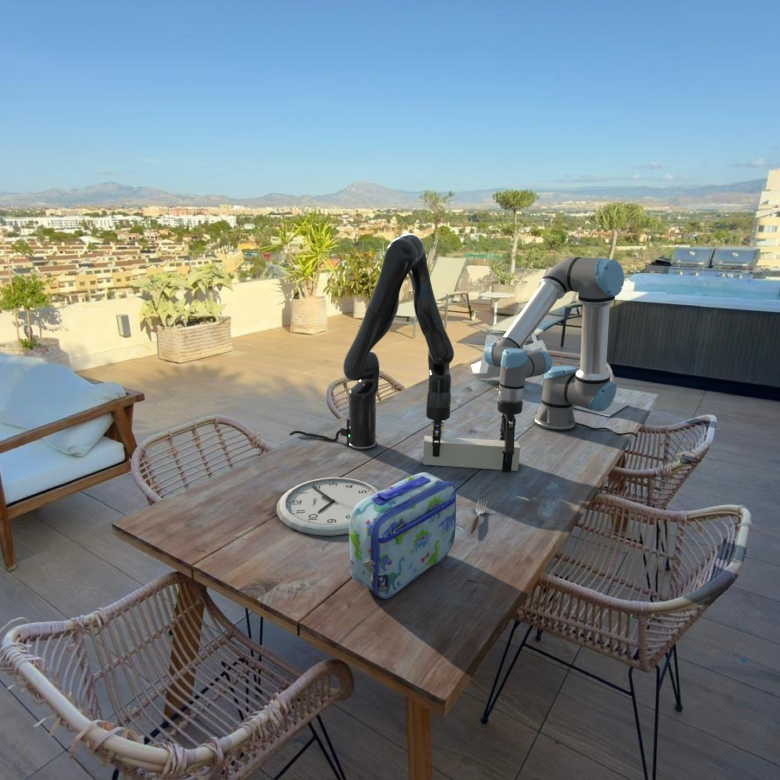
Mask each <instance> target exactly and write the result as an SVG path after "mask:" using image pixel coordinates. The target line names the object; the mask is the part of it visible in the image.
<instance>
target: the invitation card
mask: <svg viewBox="0 0 780 780" xmlns="http://www.w3.org/2000/svg"><path fill="white" fill-rule="evenodd" d="M628 406H629V404H627V403H623V402H618V401H614V400H613V401H612V403H611V404H610V406H609V407H608V408H607V409H605V410H604V411H601V412H598V411H594V410H589V409H587V408H584V407H580V406H577V405H575V406H574V407H573V409H575V410H581V411H584V412H587V413H593V414H596V415H600V416H604V417H608V418H609V417H611V416H613V415H614V414H616V413H617V412H619V411H621V410H623V409H624V408H626V407H628Z"/></svg>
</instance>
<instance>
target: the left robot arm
mask: <svg viewBox="0 0 780 780" xmlns="http://www.w3.org/2000/svg"><path fill="white" fill-rule="evenodd" d="M379 273H380V274H379V276H378V279H377V282H376V284H375V286H374V288H373V291H372V294H371V295H370V299H369V301H368V304H367V306H366V308H365V312H364V314H363V316H362V317H363V318H362V319H361V322H360V325H359V328H358V330H357V333H356V335H355V337H354V340H353V341H352V343H351V345H350V347H349V349H348V352H347V353H346V355H345V357H344V360H343V366H342V369H343V373H344V376H345V378H346V379H347V380H349V381H353V382H356V383H355V384H354V385H353V386H352V387H351V388H350V389H349V390H348V418H346V425H343V426H341V427H340V429H339V430H337V431H336V433H335V438H330V437H328V436H325V435H323V434H316V433H311V432H305V431H301V430H293V431H291V432H290V433H289V434H288V436H293V435H295V434H299V435H302V436H308V437H314V438H319V439H323V440H325V441H328V442H336V441H338V440H339V436H342V437H345V438H346V445H347V446H349V447H350V448H351V449H355V450H359V451H362V450H370V449H373V448H375V447H376V445H377V441H376V439H377V394H378V391H379V383H380V382H379V381H380V361H379V357H378V355H377V354H376V353H375V351H372V350H373V348H374V347H375V346H376V345H377V344H378V343H379V342H380V341H381V340H382V339H383V338H384V337H385V336H386V335H387V334H388V333H389V331H390V329H391V328H392V326H393V324H394V321H395V319H396V317H397V314H398V311H399V305H400V293H401V290H402V286H403V284H404V282H405V280H406V279H407V276H408V277H409V280H410V284H411V289H412V298H413V299H412V303H413V309H414V315H415V317H416V320H417V323H418V326H419V328H420V329H419V330H420V331H421V334H422V335H423V337H424V339H425V341H426V344H427V348H428V349H427V364H428V381H427V393H426V406H425V407H426V409H425V410H426V411H425V416H426V418H427V419H428V420H431V424H430V429H431V435H430V436H431V437H432V438H433V443H432V446H433V457H439V455H440V446H441V444H440V441H441V439H442V437H443V432H444V431H443V430H444V429H445V428H444V427H445V422H444V421H447V420H449V419H450V417H451V403H452V393H451V389H452V375H451V371H450V364H451V363H452V361H453V360H454V357H455V349H454V347H453V345H452V342H451V339H450V338H449V335H448V333H447V331H446V329H445V324H444V321H443V317H442V315H441V312H440V309H439V307H438V303H437V300H436V297H435V293H434V289H433V286H432V282H431V276H430V272H429V266H428V260H427V255H426V249H425V245H424V242H423V241H422V239H421V238H420V237H419V236H417V235H415V234H413V233H407V234H403V235H401V236H399V237H397V238H395V239H393V240H392V241H391V242H390V243H389V244H388V246H387V247H386V250H385V252H384V257H383V261H382V265H381V268H380V272H379ZM307 433H308V434H307ZM434 441H439V442H434Z"/></svg>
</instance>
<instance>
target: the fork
mask: <svg viewBox="0 0 780 780" xmlns="http://www.w3.org/2000/svg"><path fill="white" fill-rule="evenodd" d="M482 502H483V503H482ZM487 503H488V500H486V501H485V499H484V500H483V499H481V500H480V498H478V501H477V503H476V504H477V505H476V507H475V513H477V515H476V517H475V518H474V520H473V521H472V527H471V530H470V535H473V532H474V531H475V529H476V528H477V526H478V523H479V519H480V516H481V515H483V514H485V513H486V511H487V505H488V504H487Z"/></svg>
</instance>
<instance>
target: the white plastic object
mask: <svg viewBox="0 0 780 780" xmlns="http://www.w3.org/2000/svg"><path fill="white" fill-rule="evenodd" d="M535 332H536V331H534V333H533V334H532V335H531V339H532V342H531V343H529V344H527V345H526V344H525V345H524V346H523V348H522V349H523V350H528V351H532V352H535V351H546V352H547V353H548V354H549V352H548V349H547V346H546V343H545V342H544V340H543V339H540V340H538V338H537V335H536V333H535ZM499 341H500V339H499V338H498V337H497V336H496V335H495V334H486V337H485V342H484V345H483V351H482V355H481V356H482V357H481V360H480V361H477V362H475V363H472V364H471V365H470V367H471V370H472V375H473V376H474V377H475V379H476V380H482V379H490V378H492V379H493V378H500V372H501V367H495V366H493V365H491V364H488V363H487V362H486V361H485V359H484V351H485V348H486V347H487V345H488V344H490V343H498V342H499ZM552 367H554V365H552ZM543 378H544V374H542V375H539V376H538V379H539V382H540V385H541V386H542V388H543V382H544V379H543Z"/></svg>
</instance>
